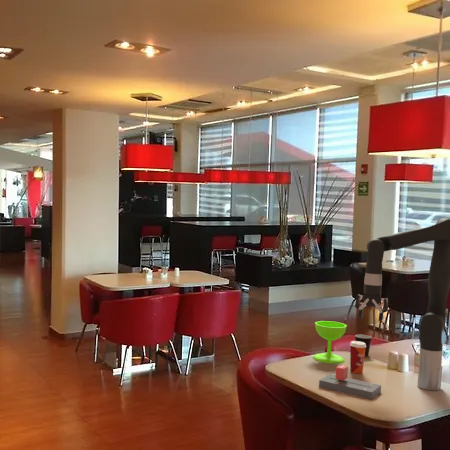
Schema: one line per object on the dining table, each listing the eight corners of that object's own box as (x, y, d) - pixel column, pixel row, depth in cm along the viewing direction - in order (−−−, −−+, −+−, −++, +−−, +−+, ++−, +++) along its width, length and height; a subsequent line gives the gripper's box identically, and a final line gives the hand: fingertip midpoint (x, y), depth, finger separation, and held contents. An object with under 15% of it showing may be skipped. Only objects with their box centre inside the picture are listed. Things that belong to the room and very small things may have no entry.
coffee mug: (358, 351, 303) (359, 333, 303) (373, 355, 298) (374, 336, 298) (348, 355, 294) (349, 336, 294) (363, 359, 289) (364, 340, 289)
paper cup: (360, 375, 259) (362, 345, 259) (345, 371, 264) (347, 342, 263) (367, 372, 265) (369, 343, 265) (352, 368, 270) (354, 339, 269)
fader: (347, 379, 240) (348, 366, 240) (343, 381, 236) (343, 368, 236) (339, 377, 242) (340, 364, 242) (335, 380, 238) (336, 367, 238)
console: (380, 392, 236) (381, 385, 236) (371, 399, 226) (372, 392, 226) (329, 380, 248) (330, 373, 248) (318, 387, 238) (319, 379, 238)
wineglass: (342, 365, 275) (344, 329, 274) (310, 360, 280) (312, 325, 279) (346, 357, 290) (348, 323, 289) (315, 353, 295) (317, 319, 294)
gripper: (391, 284, 247) (389, 321, 248) (360, 281, 255) (358, 316, 256) (386, 286, 241) (383, 323, 242) (354, 282, 249) (352, 318, 249)
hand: (370, 319), depth 249 cm, fingers open, 8 cm apart
